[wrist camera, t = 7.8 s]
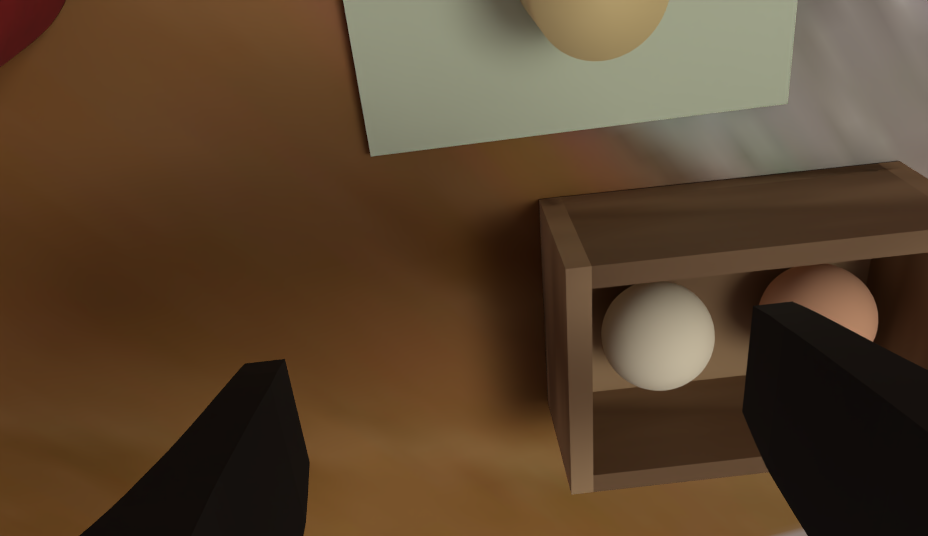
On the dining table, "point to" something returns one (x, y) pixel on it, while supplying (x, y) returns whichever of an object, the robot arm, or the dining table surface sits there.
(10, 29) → the paper cup
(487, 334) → the dining table surface
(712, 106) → the lid
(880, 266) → the box
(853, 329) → the ball
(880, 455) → the robot arm
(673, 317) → the ball
